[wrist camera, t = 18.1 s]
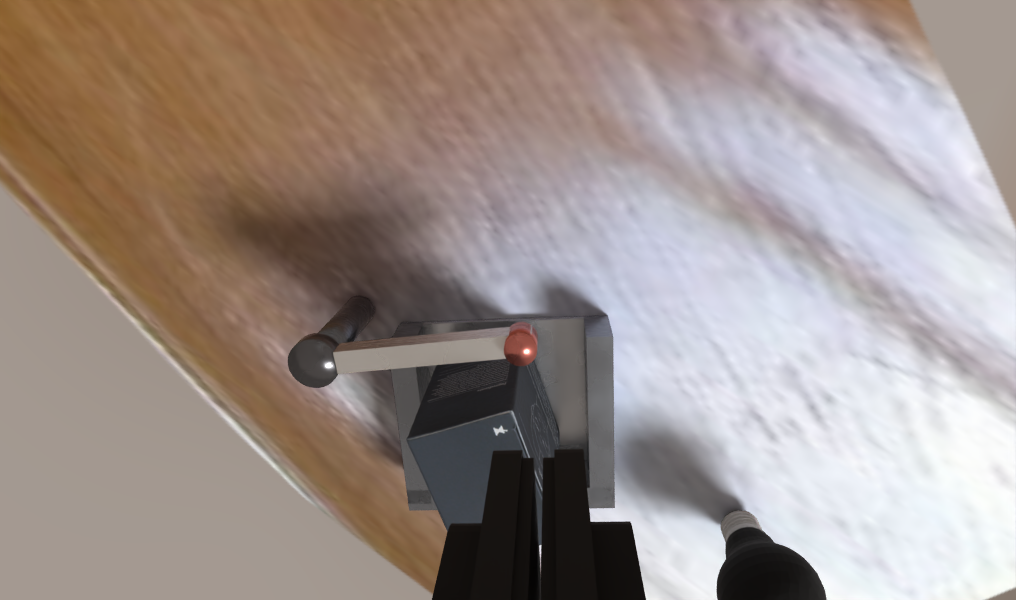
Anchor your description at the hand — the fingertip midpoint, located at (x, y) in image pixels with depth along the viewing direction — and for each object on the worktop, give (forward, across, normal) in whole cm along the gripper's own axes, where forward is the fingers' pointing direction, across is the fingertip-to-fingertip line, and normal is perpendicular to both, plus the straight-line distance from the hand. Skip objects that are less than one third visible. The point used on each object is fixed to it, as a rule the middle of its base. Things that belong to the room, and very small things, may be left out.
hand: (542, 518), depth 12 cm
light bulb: (+27, -12, +21) cm, 36 cm away
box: (+27, +3, +11) cm, 29 cm away
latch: (+20, +7, +5) cm, 21 cm away
